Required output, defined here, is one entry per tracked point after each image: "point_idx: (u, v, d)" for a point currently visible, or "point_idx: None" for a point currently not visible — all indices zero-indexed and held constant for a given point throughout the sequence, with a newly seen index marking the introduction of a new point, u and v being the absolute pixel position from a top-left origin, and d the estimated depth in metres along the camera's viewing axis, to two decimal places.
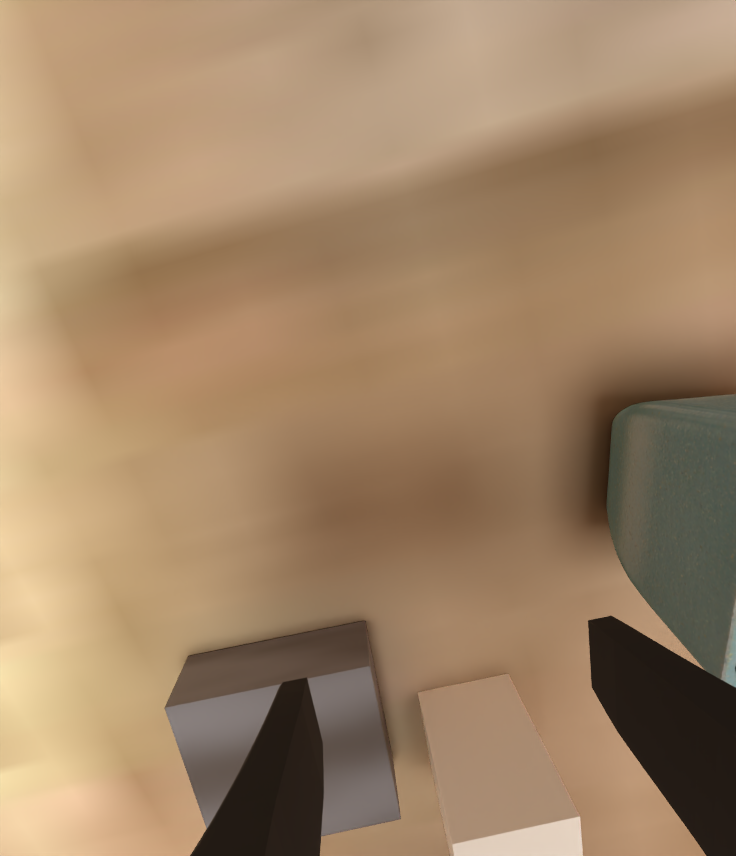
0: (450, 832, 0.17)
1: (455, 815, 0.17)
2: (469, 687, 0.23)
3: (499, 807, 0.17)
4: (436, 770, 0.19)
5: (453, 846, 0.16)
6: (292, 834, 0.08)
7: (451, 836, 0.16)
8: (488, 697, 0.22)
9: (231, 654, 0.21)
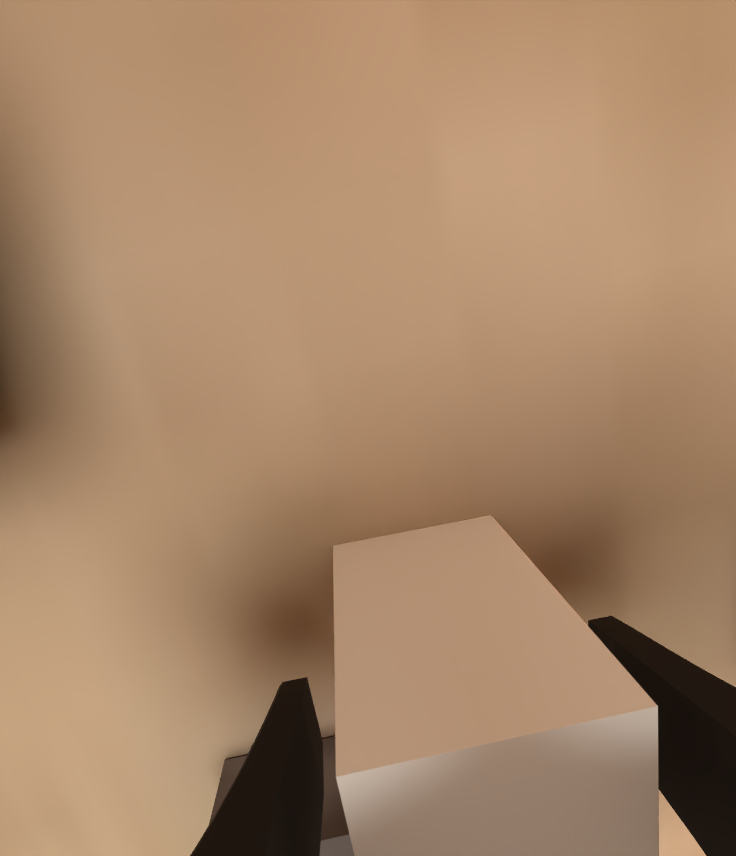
0: None
1: None
2: None
3: None
4: None
5: None
6: (292, 834, 0.08)
7: None
8: None
9: None
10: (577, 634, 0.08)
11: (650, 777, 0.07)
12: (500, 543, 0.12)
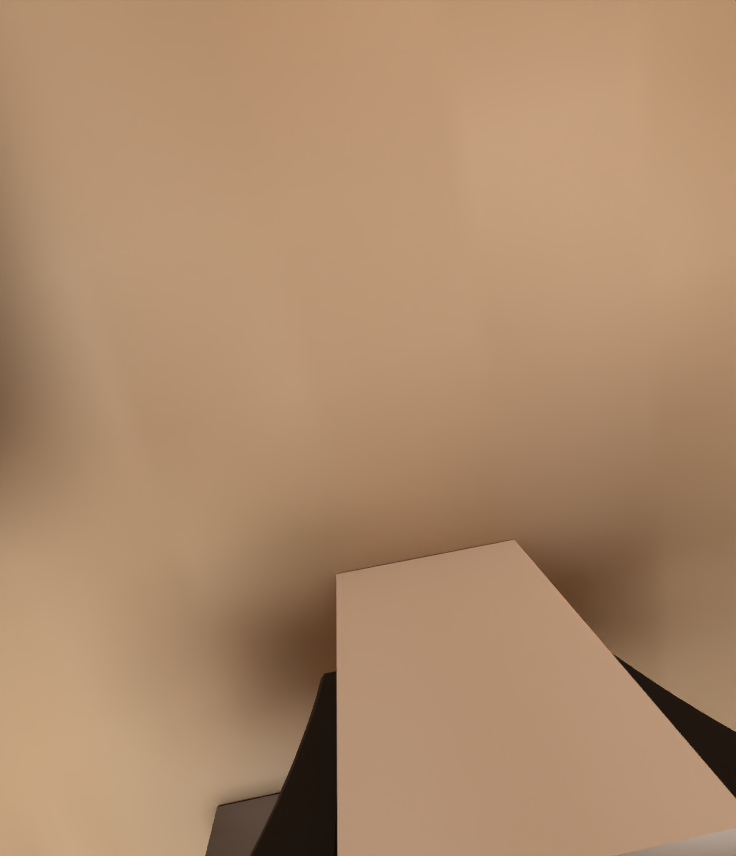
0: None
1: None
2: None
3: None
4: None
5: None
6: None
7: None
8: None
9: None
10: (635, 706, 0.07)
11: None
12: (528, 577, 0.10)
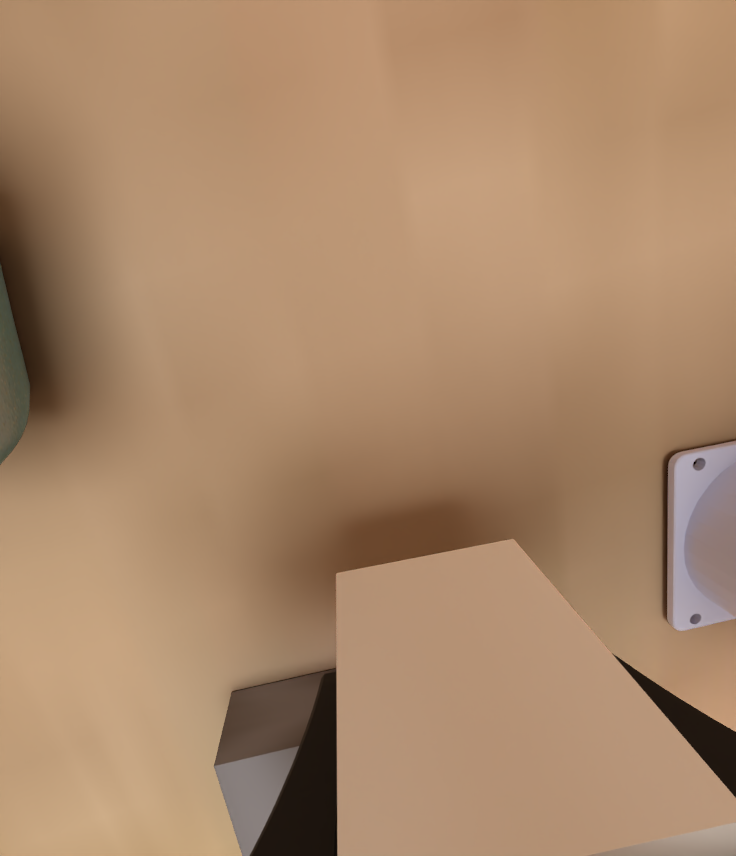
0: None
1: None
2: None
3: None
4: None
5: None
6: None
7: None
8: None
9: None
10: (633, 703, 0.07)
11: None
12: (527, 575, 0.10)
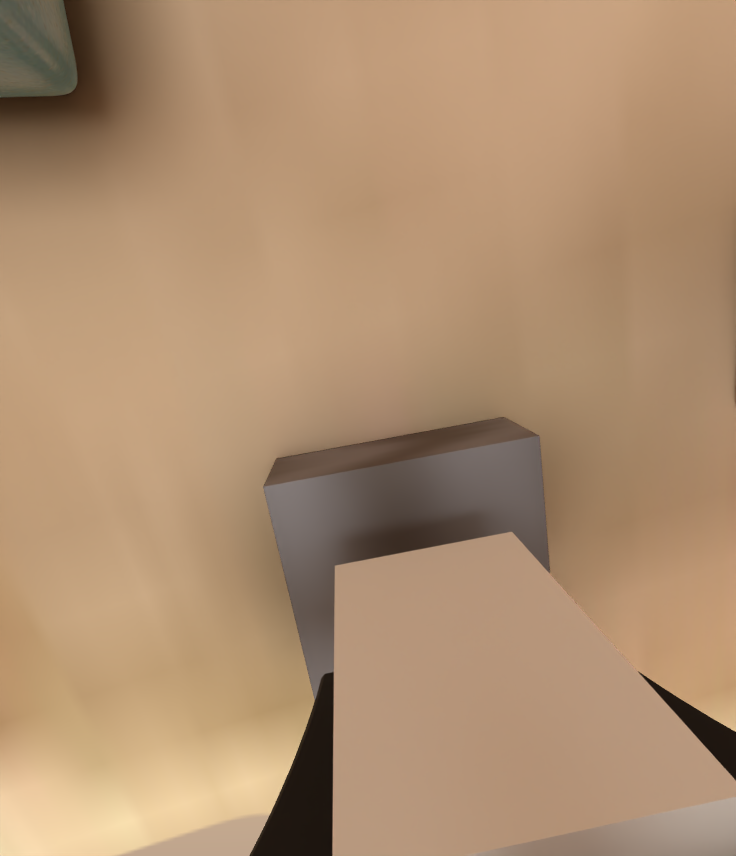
0: None
1: None
2: None
3: None
4: None
5: None
6: None
7: None
8: None
9: None
10: (629, 686, 0.07)
11: None
12: (525, 566, 0.10)
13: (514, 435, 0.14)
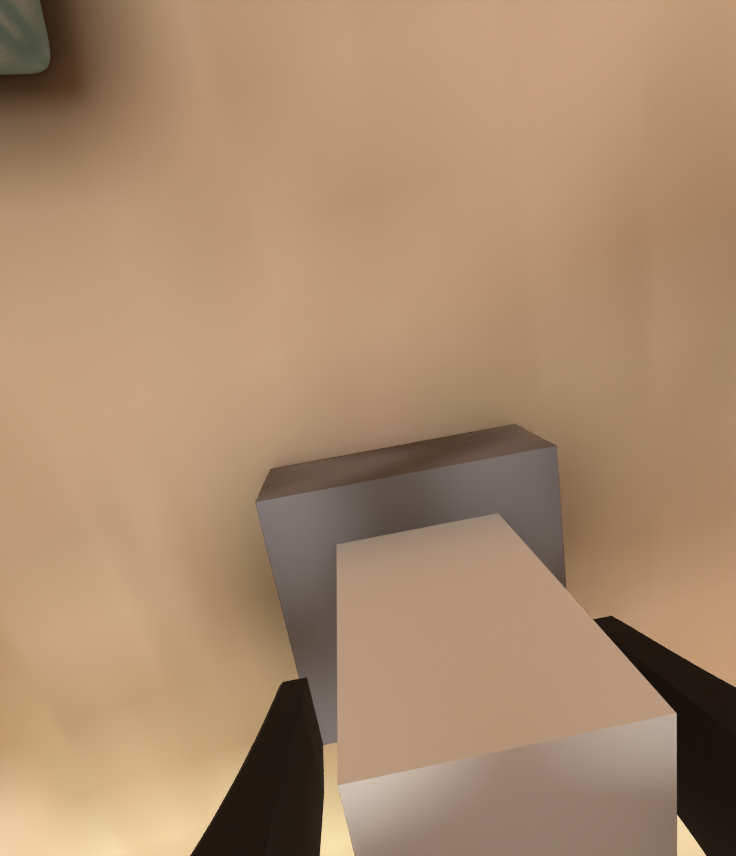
0: None
1: None
2: None
3: None
4: None
5: None
6: (292, 834, 0.08)
7: None
8: None
9: None
10: (589, 637, 0.08)
11: (668, 787, 0.07)
12: (508, 542, 0.11)
13: (528, 445, 0.13)
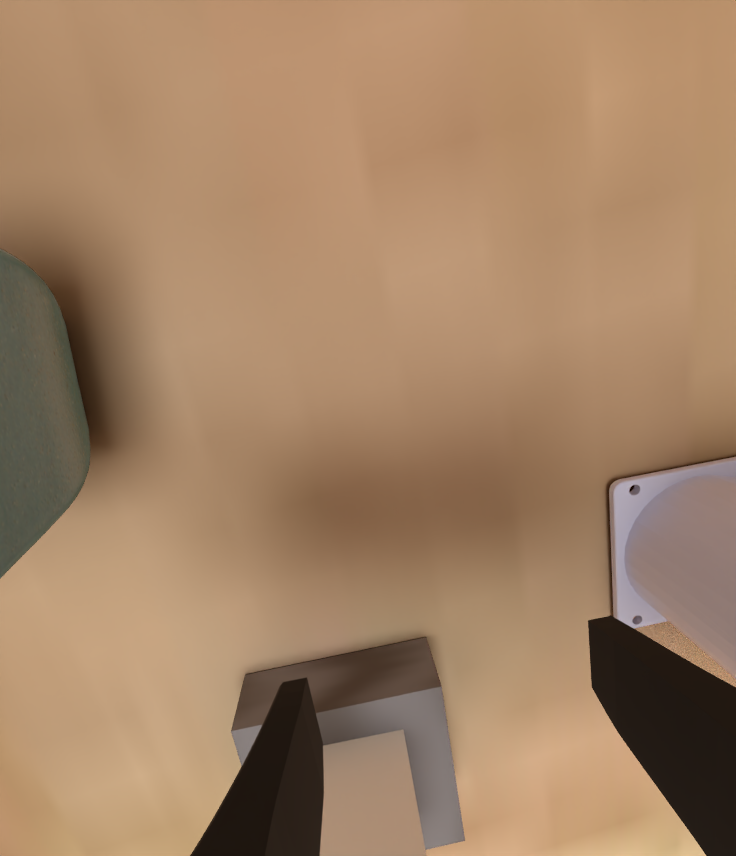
0: None
1: None
2: None
3: None
4: None
5: None
6: (292, 834, 0.08)
7: None
8: None
9: None
10: None
11: None
12: (401, 770, 0.17)
13: (424, 679, 0.19)
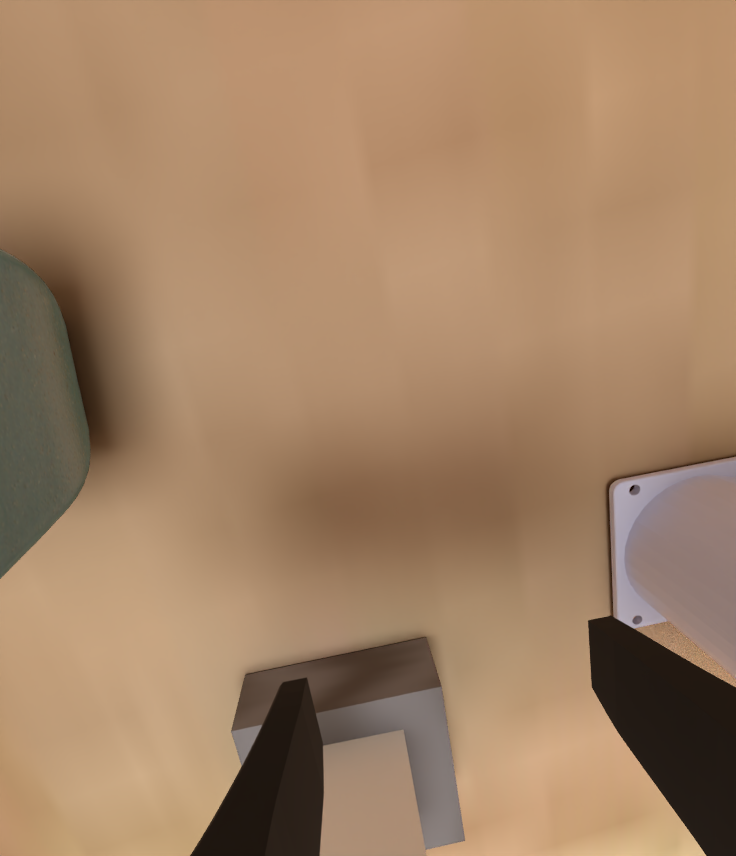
0: None
1: None
2: None
3: None
4: None
5: None
6: (292, 834, 0.08)
7: None
8: None
9: None
10: None
11: None
12: (401, 770, 0.17)
13: (424, 679, 0.19)
